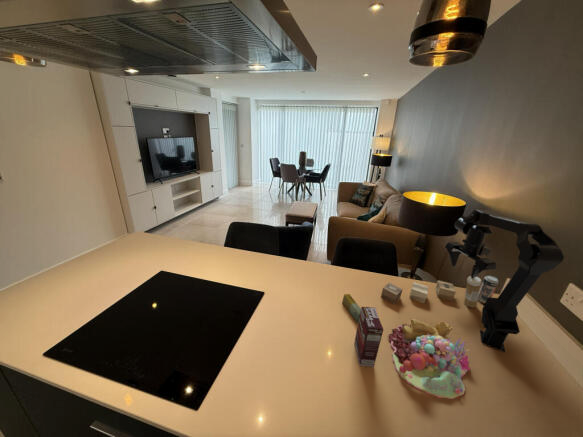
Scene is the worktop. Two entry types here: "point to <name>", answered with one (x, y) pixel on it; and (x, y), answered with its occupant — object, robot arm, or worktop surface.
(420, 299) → the plain birch block
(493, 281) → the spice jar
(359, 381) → the worktop surface
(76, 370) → the worktop surface
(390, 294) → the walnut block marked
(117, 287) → the worktop surface
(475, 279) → the granule seasoning jar
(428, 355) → the pastel sphere sculpture
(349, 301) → the medication box
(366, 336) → the supplement box
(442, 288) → the oak block marked
